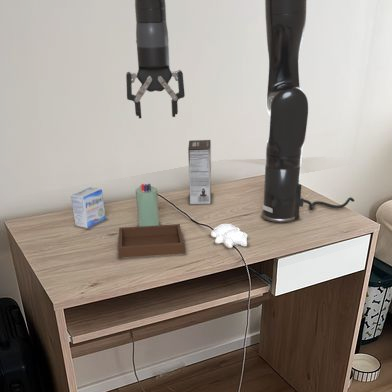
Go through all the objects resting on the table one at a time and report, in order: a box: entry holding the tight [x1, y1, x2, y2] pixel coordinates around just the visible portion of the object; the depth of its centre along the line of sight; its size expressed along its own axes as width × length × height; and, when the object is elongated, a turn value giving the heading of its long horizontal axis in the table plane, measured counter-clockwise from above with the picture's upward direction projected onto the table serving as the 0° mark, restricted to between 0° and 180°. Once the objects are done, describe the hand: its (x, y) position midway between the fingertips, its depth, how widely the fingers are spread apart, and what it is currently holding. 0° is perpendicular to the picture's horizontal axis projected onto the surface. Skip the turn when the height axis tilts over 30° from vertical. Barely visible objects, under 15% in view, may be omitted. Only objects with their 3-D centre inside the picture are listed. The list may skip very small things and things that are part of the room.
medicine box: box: [70, 186, 106, 229], centre depth 147 cm, size 8×4×9 cm, turn 148°
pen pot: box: [135, 183, 160, 227], centre depth 143 cm, size 6×6×12 cm
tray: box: [118, 223, 185, 259], centre depth 135 cm, size 16×13×3 cm
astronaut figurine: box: [210, 223, 248, 249], centre depth 137 cm, size 9×12×3 cm
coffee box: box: [187, 139, 212, 205], centre depth 158 cm, size 9×6×16 cm
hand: (157, 117), depth 137 cm, fingers open, 8 cm apart
